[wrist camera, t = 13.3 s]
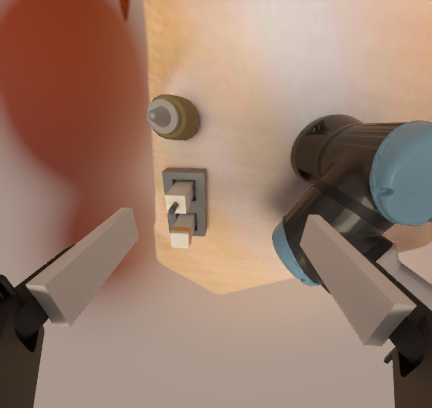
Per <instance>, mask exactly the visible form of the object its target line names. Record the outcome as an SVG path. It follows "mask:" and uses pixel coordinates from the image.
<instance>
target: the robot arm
mask: <svg viewBox="0 0 432 408" xmlns="http://www.w3.org/2000/svg"><path fill="white" fill-rule="evenodd" d="M291 162H292V166H293V169H294V171H295V172H296V174H297V175H298V176H299V177H300V178H302V179H303V180H305V181H307V182H309V183H312V184H314V185H313V186H312V187H311V188H310V189H309V190H308V191H307V193H306V194H305V195H304V196H303V197H302V198H301V199H300V200H299V201H298V203H297V204H296V205H295V206H294V207H293V208H292V209H291V210H290V212H289V213H288V214H287V215H285V216H284V217H283V218H282V220H281V222H280V223H279V224H278V226H277V227H276V228H275V229H274V231H273V234H272V240H273V245H274V248H275V251H276V253H277V255H278V256H279V258H280V259H281V261H282V262H283V264H284V265H285V266H286V268H287V269H288V270H289V271H290V272H291V273H292V274H293V275H294V276H295V277H296V278H297V279H300V280H301V281H302V282H303V283H304V284H306V285H308V286H318V285H322V287H324V288H325V290H326V291H327V292H328V293H329V294H331V295H332V296H333V298H334V299H335V301H336V302H337V304H338V305H339V307H340V309H341V310H342V312H343V313H344V315H345V316H346V318H347V320H348V321H349V323H350V324H351V326H352V327H353V329H354V330H355V332H356V333H357V335H358V337H359V338H360V340H361V341H362V343H363V344H364V345H375V346H382V345H383V344H384V343H385V342H386V340H387V339H388V338H389V339H390V340H391V341H392V343H393V344H394V345H395V346H396V347H395V348H394V349H393V350H392V351H391V352H390V353H389V354H388V355H387V356H386V357H385V359H384V362H385V363H387V364H388V363H389V362H390V361H391V360H393V375H394V376H393V377H394V396H395V397H394V398H395V408H432V284H430V283H429V282H427V281H426V280H424V279H423V278H422V277H420V276H419V275H418V274H416V273H415V272H413V271H412V270H410V269H409V268H408V267H406V266H405V265H403V264H402V263H401V262H400V261H399V259H398V253H397V248H396V245H395V244H394V243H392V242H391V241H389V240H388V239H386V238H385V237H383V236H382V234H383V233H384V232H385V231H386V230H388V229H389V228H390V227H392V226H393V225H394V224H401V225H408V226H419V225H424V224H426V223H427V221H429V222H432V122H428V121H412V122H400V123H369V124H364V123H362V122H360V121H359V120H357V119H355V118H353V117H351V116H347V115H330V116H325V117H322V118H319V119H317V120H315V121H314V122H312V123H311V124H309V125H308V126H307V127H306V128H305V129H304V130H303V131H302V132H301V133H300V134H299V136H298V137H297V139H296V141H295V143H294V145H293V148H292V153H291ZM138 238H139V237H138V233H137V229H136V224H135V220H134V215H133V211H132V208H121V209H120V210H118V211H117V212H116V213H115V214H113V215H112V216H111V217H110V218H108V219H107V220H106V221H105V222H103V223H102V224H101V225H100V226H98V227H97V228H96V229H95V230H94V231H92V232H91V233H90V234H88V235H87V236H86V237H84V238H83V239H82V240H81V241H79V242H78V243H77V244H74V245H72V246H70V247H68V248H66V249H65V250H63V251H62V252H60V253H59V254H58V255H56V256H55V258H53V259H52V260H50V261H49V262H47V264H45V265H44V266H43V267H41V268H40V269H38V270H37V271H36V272H34V273H33V274H32V275H31V276H29V277H28V278H27V279H25V280H24V281H23V282H22V283H20V284H19V285H18V286H16V287H15V288H14V287H13V286H12V285H11V283H10V282H9V281H8V279H7V278H6V277H5V276H3V275H0V408H33V405H34V398H35V391H36V384H37V378H38V371H39V364H40V358H41V351H42V344H43V338H44V327H43V324H44V323H45V322H46V321H47V319H48V318H49V319H50V320H51V322H52V323H53V325H54V326H66V327H70V326H71V325H72V324H73V323H74V321H75V320H76V319H77V318H78V316H79V315H80V314H81V312H82V311H83V310H84V308H85V307H86V306H87V305H88V303H89V302H90V301H91V299H92V298H93V297H94V295H95V294H96V293H97V291H98V290H99V289H100V288H101V286H102V285H103V283H104V282H105V281H106V280H107V278H108V277H109V276H110V274H111V273H112V272H113V271H114V269H115V268H116V267H117V265H118V264H119V263H120V261H121V260H122V259H123V258H124V256H125V255H126V254H127V252H128V251H129V250H130V248H131V247H132V246H133V244H134V243H135V242H136V240H137V239H138Z"/></svg>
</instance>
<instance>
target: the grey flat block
mask: <svg viewBox="0 0 432 408" xmlns="http://www.w3.org/2000/svg"><path fill="white" fill-rule="evenodd" d="M162 176H163V184H164V191H165V194H166V193H167V192H168V191H169V190H170V188H171V187H172V186H173V185H174V184H175V183H176V182H177V180H178V179H181V180H194V188H195V194H194V197H193V199H192V201H191V204H190V206H189V208H188V211H187V213H196V226H195V229H194V233H193V236H205V235H206V229H207V219H206V169H184V168H167V169H165V170H164V171H163V172H162ZM179 214H180V213H174V214H172V215H171V214H169V213H167V215H168V223H169V231H170V232H171V229H172V227H173V226H174V224H175V222H176V220H177V218H178V216H179Z"/></svg>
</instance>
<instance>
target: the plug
mask: <svg viewBox="0 0 432 408" xmlns="http://www.w3.org/2000/svg"><path fill="white" fill-rule="evenodd" d="M195 226H196V213H186V214H179V216H178V218H177V220H176V222H175V224H174V226H173V227H172V229H171V232H170V237H171V245H172V247H176V248H189V247H190V244H191V240H192V236H193V233H194V229H195Z"/></svg>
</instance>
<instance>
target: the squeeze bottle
mask: <svg viewBox="0 0 432 408" xmlns="http://www.w3.org/2000/svg"><path fill="white" fill-rule="evenodd" d="M147 118H148V122H149V123H150V126H151V127H152V129H153V130H154V131H155V132H156V133H157V134H158V135H159V136H161V137H163V138H165V139H171V140H187V139H189V138H191V137H192V136H193V135H194V134H195V133H196V132H197V129H198V126H199V115H198V112H197V110H196V107H195V106H194V105H193V104H192V103H191V102H190V101H189V100H187V99H185V98H183V97H179V96H174V95H160V96H158V97H156V98H154V100H153V101H152V102H151V104H150V105H149V107H148V111H147Z"/></svg>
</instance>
